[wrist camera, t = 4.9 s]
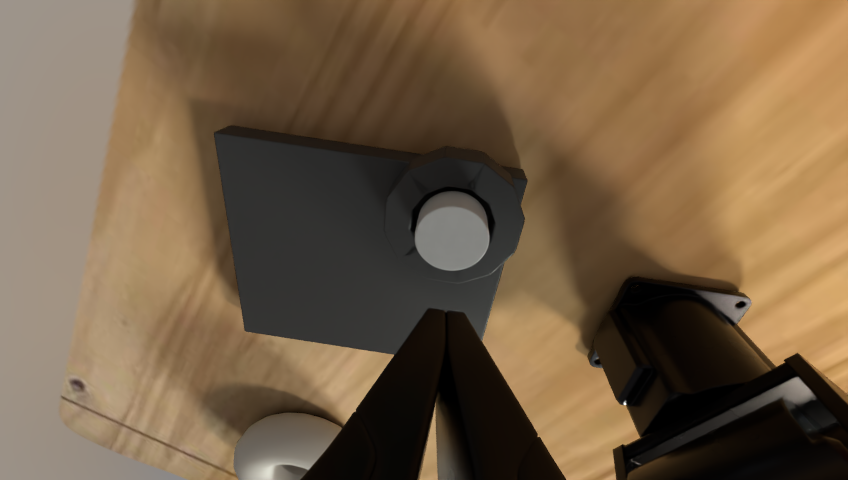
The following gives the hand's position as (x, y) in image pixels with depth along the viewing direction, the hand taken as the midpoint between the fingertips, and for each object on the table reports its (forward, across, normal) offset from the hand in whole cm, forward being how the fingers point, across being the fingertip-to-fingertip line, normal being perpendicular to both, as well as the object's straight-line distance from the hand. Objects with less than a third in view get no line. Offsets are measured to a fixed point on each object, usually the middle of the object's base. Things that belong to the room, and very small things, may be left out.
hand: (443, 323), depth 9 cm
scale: (+11, +4, +5) cm, 12 cm away
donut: (+11, +8, +24) cm, 28 cm away
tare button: (+8, 0, +1) cm, 8 cm away
